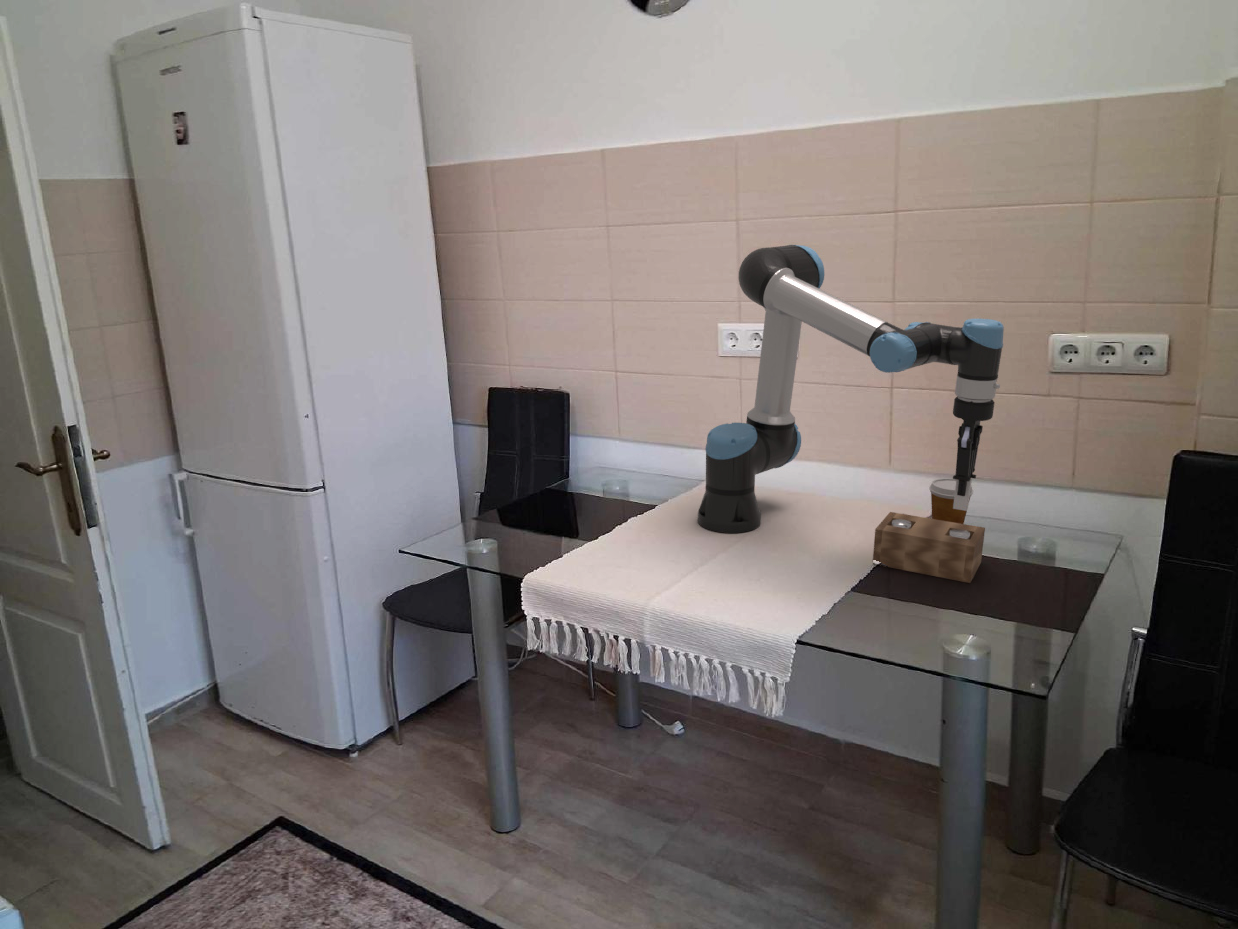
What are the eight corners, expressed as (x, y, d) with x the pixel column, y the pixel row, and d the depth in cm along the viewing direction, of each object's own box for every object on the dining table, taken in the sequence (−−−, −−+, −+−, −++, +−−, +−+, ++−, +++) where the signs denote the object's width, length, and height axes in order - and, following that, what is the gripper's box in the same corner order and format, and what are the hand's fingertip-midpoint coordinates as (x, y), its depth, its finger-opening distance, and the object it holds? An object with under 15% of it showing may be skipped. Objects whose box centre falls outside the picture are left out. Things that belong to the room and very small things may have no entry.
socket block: (872, 563, 195) (875, 529, 193) (887, 545, 205) (890, 511, 203) (970, 583, 185) (974, 546, 183) (980, 562, 195) (985, 527, 193)
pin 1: (887, 555, 197) (889, 523, 195) (891, 549, 200) (894, 518, 198) (905, 559, 195) (908, 527, 193) (910, 553, 198) (913, 521, 196)
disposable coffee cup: (966, 527, 215) (972, 479, 211) (970, 542, 206) (975, 492, 202) (924, 524, 217) (928, 476, 214) (925, 538, 208) (930, 489, 205)
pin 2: (944, 566, 191) (947, 534, 189) (948, 560, 195) (951, 527, 192) (964, 570, 189) (968, 537, 187) (968, 563, 193) (971, 531, 190)
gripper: (988, 407, 174) (973, 522, 181) (1000, 393, 185) (985, 502, 192) (948, 402, 178) (934, 515, 185) (961, 389, 188) (948, 496, 196)
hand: (960, 508), depth 189 cm, fingers closed
